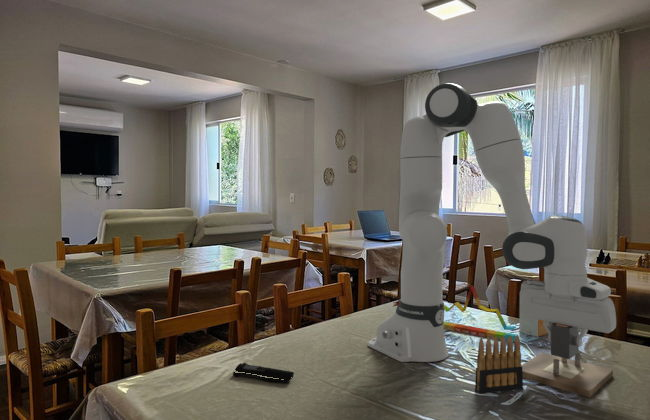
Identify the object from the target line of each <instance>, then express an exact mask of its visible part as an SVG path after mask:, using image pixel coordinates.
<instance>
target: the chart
mask: <svg viewBox="0 0 650 420" xmlns="http://www.w3.org/2000/svg"><path fill="white" fill-rule="evenodd" d="M471 295H473V298H474V301H475V303H476V305H477V307H478V309H480V310H481V311H483V312H486V313H495V314H496V316H497V318H498V320H499V322H500V324H501V327H502V328H503V330H504V331H505V330H507V331H514V330H515V329H516V328H517V326H514V325H513V326H511V325H509V326H508V325H507V324H506V321H505V320H504V317H503V315H502V314H501V312H500V310H499V309H498V308H488V307H487V306H484V305H482V303H481V300H480V298H479V295H478V293H477V291H476V288H475V286H474V285H472V286H470V287H469V290H468V293H467V296H466V299H465V302H464V305H463V306H462V304H461V303H460V302H459V301H456V302H454V303H453V304H452V305H451V306H450V307H448V306H447V305H445V304H444V312H446V313H448V312H449V311H450V310H452V309H453V308H454V307H455V306H456V307H457V309H459V311H460V312H461V313H464V312H465V311H466V310H467V308H468V304H469V301H470V298H471ZM466 312H467V311H466ZM443 328H444V330H446V331H451V332H456V333H461V334H466V335H471V336H477V337H480V338H482V337H483V338H486V339H488V337H489V338H490V339H493V340H494V339H495V337H497V339H498V341H501V339H502V336H504V338H505V342H506V343H508V338H509V336H510V335H511V337H512V341H513V343H515V338H516V335H517V334H516V333H511V332H510V333H509V332H504V331H500V330H492V329H487V328H482V327H477V326H471V325H465V324H460V323H454V322H448V321H444V322H443Z"/></svg>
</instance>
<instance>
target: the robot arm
mask: <svg viewBox="0 0 650 420" xmlns="http://www.w3.org/2000/svg"><path fill="white" fill-rule="evenodd" d="M424 111H425V115H422V116H415V117H412V118H410V119H408V120H407V121H406V123H405V124H404V126H403V129H402V133H401V141H400V152H399V155H400V156H399V158H400V159H399V161H400V163H399V167H400V168H399V169H400V171H399V172H400V173H399V176H400V179H399V181H400V182H399V184H400V187H399V188H400V189H399V191H400V192H399V206H398V208H399V209H398V233H399V236H400V239H401V240H402V257H401V268H400V299H398V300H397V301H394V302H393V305H392V307H396V308H395V312H393V313H392V314H391V315H389V316H388V317H387V318H385V319H384V320H382V321H381V322H380V323H379V324H378V326H377V329H376V335H375V337H373V338H371V339H370V340H369V341H368V342H367V345H368V347H370V348H371V349H374V350H376V351H377V352H380V353H381V354H384V355H386V356H388V357H390V358H392V359H394V360H396V361H398V362H402V363H408V362H418V363H431V362H434V363H435V362H438V361H443V360H445V359H446V358H448V357H449V355H450V354H449V351H448V346H447V343H446V336H445V331H444V330H445V329H444V328H443V322H445V310H444V305H445V303H444V301H443V272H444V263H445V258H446V257H445V256H446V248H447V239H448V229H447V225H446V223H445V221H444V220H443V219H442V217H440V216H439V215H440V205H441V196H442V190H443V142H444V140H445V138H448V137H451V136H453V135H454V136H455V135H456V134H459V133H462V132H466V133H467V134H468V135H469V137H470V139H471V143H472V147H473V152H474V155H475V158H476V161H477V165H478V167H479V169H480V171H481V173H482V175H483V177H484V178H485V179H486V180H487V182H488V183H489V184H490V185H492V187H493V189H495V191H496V192H497V194H498V196H499V198H500V201H501V204H502V208H503V211H504V214H505V217H506V221H507V224H508V234H507V236H506V237H505V239H504V240H503V243H502V246H501V252H502V253H501V254H502V257H503V258H504V261H506V262H507V264H509V265H510V267H513V268H515V269H518V270H531V269H540V268H541V269H542V268H543V269H544V271H543V274H544V277H543V278H544V280H543V281H541V280H540V281H539V280H534V279H533V280H532V279H527V280H524V281H523V282H522V283H521V285H520V291H521V294H522V297H521V303H520V302H519V314H520V313H521V314H522V316H523V317H527V318H532V319H537V320H543V325H544V327H545V329H546V331H547V332H548V334H547V340H549V341H551V324H552V325H553V324H554V323H558V324H563V325H568V326H573V327H578V332H579V336H578V337H576V336H575V337H574V338H573V345H574V346H579V348H580V347H582V346H583V338H584V337H585V336H586V334H587V333H588V331H594V332H598V333H605V334H610V333H611V332H613V331H614V330H615V329H616V328H617V314H616V308H615V304H614V301H613V300H612V299H611V298H610V297H609V296H610V295H611V292H612V289H611V287H610V286H608V285H606V284H604V283H601V282H599V281H596V280H594V279H592V278H589V277H588V271H587V267H586V260H587V257H588V239H587V238H588V237H587V231H586V226H585V224H584V223H582V221H580V220H579V219H576V218H573V217H569V216H565V215H564V216H563V215H555V214H554V215H549V216H547V217H546V218H545V219H543V220H542V221H539V222H537V223H536V221H535V219H534V216H533V213H532V210H531V206H530V202H529V198H528V194H527V192H526V191H527V190H526V167H525V166H526V164H525V163H526V162H525V161H526V160H525V153H524V145H523V141H522V139H521V134H520V131H519V129H518V125H517V124H516V121H515V118H514V117H513V115H512V113H511V110H510V108H509V107H508V106H507V105H506V104H505V103H503V102H501V101H489V102H485V103H478V101H477V99H476V98H475V97H473V96H472V95H471V93H470V92H469V91H467V90H466V89H465V88H464V87H462V86H461V85H459V84H456V83H449V82H447V83H441V84H438V85H437V86H435V87H433V88H432V89H431V90H430V91H429V93H428V94H427V96H426V99H425V102H424Z"/></svg>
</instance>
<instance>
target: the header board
mask: <svg viewBox="0 0 650 420" xmlns="http://www.w3.org/2000/svg"><path fill="white" fill-rule="evenodd" d="M581 352H582V351H580V350H579V353H577V354H576V355H574V359H572V358H570V359H566V358H562V357H558V356H554V355H551V353H547V352H541V353H538V354H537V355H536V356H534V357H531V359H529V360H528V361H526V362H524V363H522V364H521V366H522V371H523V379H526V380H530V381H533V382H537V383H538V384H539V383H540V384H543V385H545V386H550V387H553V388H556V389H559V390H562V391H566V392H569V393H571V394H572V393H573V394H576V395H579V396H582V397H586V398H589V399H591V397H593V396H594V395H595V394H596V393H597V392H598V391H599V390H600V389H601V388H602V387H603V386H604V385H606V383H607V382H608V381H610V379H612V378H613V376H614V369H610V368H606V367H603V366H598V365H596V364H595V365H594V364H591V363H587V362H583V361H581V358H582V357H581V355H582V354H581Z"/></svg>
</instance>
